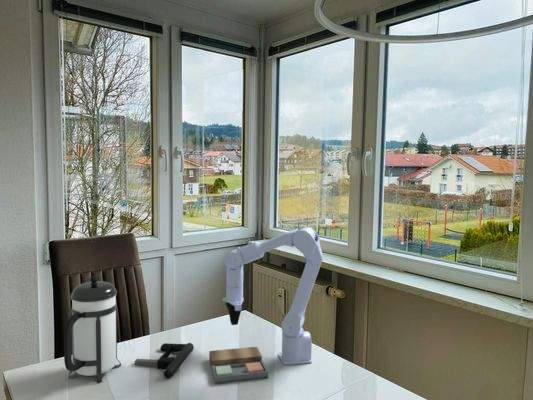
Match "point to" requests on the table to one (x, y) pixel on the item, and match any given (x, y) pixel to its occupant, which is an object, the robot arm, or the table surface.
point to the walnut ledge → (234, 356)
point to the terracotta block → (254, 367)
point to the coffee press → (92, 330)
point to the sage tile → (223, 370)
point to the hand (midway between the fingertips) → (234, 324)
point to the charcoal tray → (239, 373)
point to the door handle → (169, 358)
